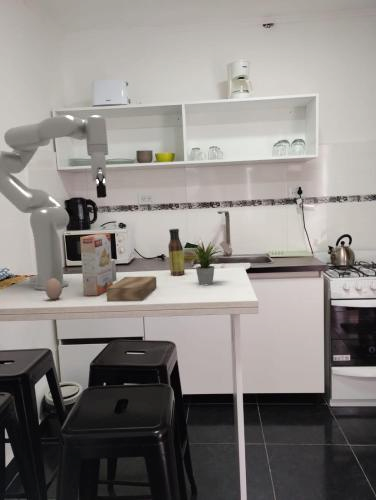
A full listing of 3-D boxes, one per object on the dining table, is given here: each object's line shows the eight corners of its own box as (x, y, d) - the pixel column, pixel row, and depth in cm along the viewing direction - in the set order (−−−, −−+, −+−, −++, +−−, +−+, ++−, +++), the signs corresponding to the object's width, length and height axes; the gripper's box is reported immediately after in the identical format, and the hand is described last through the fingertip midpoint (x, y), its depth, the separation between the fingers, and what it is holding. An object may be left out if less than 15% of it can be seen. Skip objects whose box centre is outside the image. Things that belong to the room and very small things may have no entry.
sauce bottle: (187, 273, 179) (185, 228, 177) (179, 276, 174) (177, 229, 171) (175, 272, 182) (172, 228, 180) (167, 275, 177) (164, 229, 175)
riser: (107, 301, 135) (106, 288, 135) (125, 287, 155) (124, 276, 154) (142, 300, 133) (141, 287, 133) (156, 287, 153) (156, 276, 153)
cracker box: (99, 296, 143) (94, 236, 141) (83, 296, 144) (78, 236, 142) (114, 287, 157) (110, 232, 154) (99, 287, 158) (95, 233, 155)
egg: (43, 300, 141) (41, 279, 140) (55, 297, 145) (54, 276, 144) (53, 302, 138) (51, 280, 137) (65, 298, 142) (64, 277, 141)
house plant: (219, 288, 146) (217, 242, 144) (182, 287, 151) (180, 243, 149) (228, 280, 159) (227, 238, 158) (194, 280, 164) (192, 239, 162)
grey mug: (107, 276, 181) (106, 257, 180) (119, 280, 170) (118, 260, 169) (87, 279, 176) (86, 259, 175) (98, 284, 165) (97, 263, 164)
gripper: (87, 154, 160) (91, 198, 162) (87, 147, 143) (91, 197, 145) (107, 153, 161) (110, 197, 163) (108, 147, 145) (113, 196, 147)
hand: (101, 197), depth 154 cm, fingers open, 9 cm apart
